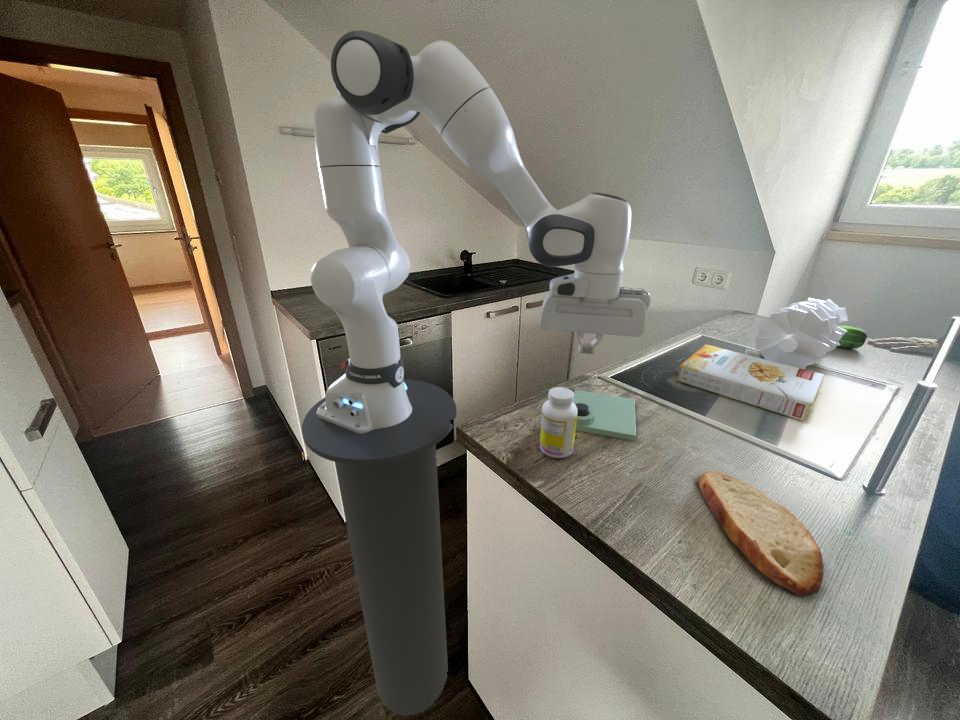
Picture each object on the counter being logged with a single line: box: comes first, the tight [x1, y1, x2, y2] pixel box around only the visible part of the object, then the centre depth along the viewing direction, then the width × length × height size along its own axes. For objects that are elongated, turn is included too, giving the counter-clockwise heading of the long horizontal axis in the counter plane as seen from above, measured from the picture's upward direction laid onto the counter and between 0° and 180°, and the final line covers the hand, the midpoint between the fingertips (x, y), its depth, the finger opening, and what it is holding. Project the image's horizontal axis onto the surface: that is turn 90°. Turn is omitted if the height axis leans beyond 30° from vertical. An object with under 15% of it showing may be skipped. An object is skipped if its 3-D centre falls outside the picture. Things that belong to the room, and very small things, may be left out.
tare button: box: [575, 403, 589, 416], centre depth 84 cm, size 3×3×2 cm
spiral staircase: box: [754, 297, 849, 370], centre depth 115 cm, size 18×18×25 cm
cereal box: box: [677, 343, 825, 422], centre depth 101 cm, size 20×6×28 cm
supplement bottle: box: [539, 386, 578, 459], centre depth 75 cm, size 7×7×13 cm
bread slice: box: [697, 471, 825, 597], centre depth 59 cm, size 18×18×4 cm
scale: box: [573, 389, 637, 442], centre depth 88 cm, size 14×16×3 cm
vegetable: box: [836, 325, 868, 350], centre depth 129 cm, size 7×7×20 cm
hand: (586, 352), depth 79 cm, fingers closed
